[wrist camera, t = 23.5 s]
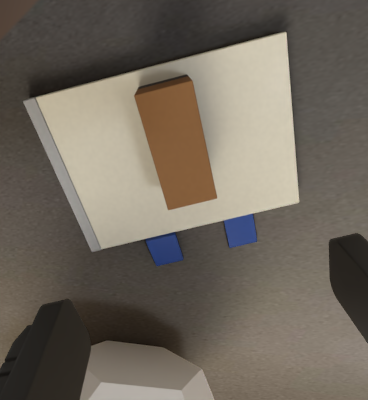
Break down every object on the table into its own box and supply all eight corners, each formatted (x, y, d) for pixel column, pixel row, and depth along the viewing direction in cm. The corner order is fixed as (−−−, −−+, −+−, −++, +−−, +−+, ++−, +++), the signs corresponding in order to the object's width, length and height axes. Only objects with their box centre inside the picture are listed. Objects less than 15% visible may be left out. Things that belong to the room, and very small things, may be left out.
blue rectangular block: (145, 237, 31) (145, 241, 31) (174, 230, 31) (175, 234, 31) (156, 262, 34) (156, 266, 33) (182, 255, 34) (183, 260, 33)
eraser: (167, 187, 29) (168, 211, 25) (138, 86, 25) (133, 95, 21) (209, 177, 28) (217, 199, 24) (187, 73, 24) (192, 79, 20)
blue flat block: (221, 213, 32) (223, 216, 31) (250, 206, 32) (252, 209, 31) (228, 245, 34) (229, 248, 33) (255, 238, 34) (257, 241, 33)
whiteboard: (28, 98, 26) (22, 101, 24) (281, 32, 25) (287, 31, 24) (94, 244, 32) (91, 252, 31) (294, 197, 31) (299, 203, 30)
